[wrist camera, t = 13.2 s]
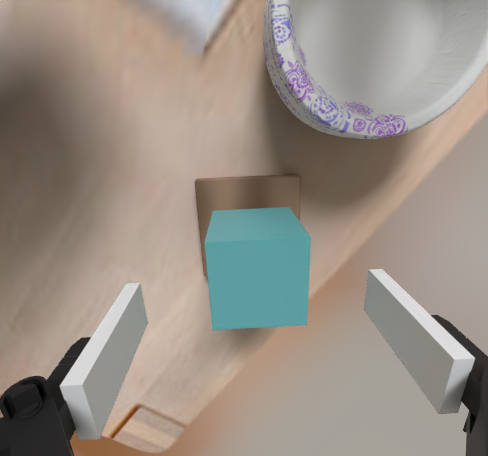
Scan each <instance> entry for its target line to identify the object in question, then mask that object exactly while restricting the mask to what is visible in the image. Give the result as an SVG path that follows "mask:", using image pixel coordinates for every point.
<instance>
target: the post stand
mask: <svg viewBox="0 0 488 456" xmlns="http://www.w3.org/2000/svg"><path fill="white" fill-rule="evenodd" d="M300 183H301V177H300V176H299V175H298V174H292V175H270V176H248V177H226V178H204V179H196V180H195V189H196V200H197V210H198V220H199V230H200V240H201V250H202V261H203V271H204V276H208V274H207V263H206V252H205V239H206V235H207V231H208V228H209V224H210V220H211V216H212V212H213V211H217V210H238V209H258V208H279V207H290V209H291V210H292V212H293V213H294V214H295V216H296V217H297V219H298V220H300Z"/></svg>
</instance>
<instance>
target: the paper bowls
mask: <svg viewBox="0 0 488 456" xmlns="http://www.w3.org/2000/svg"><path fill="white" fill-rule="evenodd" d="M263 46H264V54H265V60H266V65H267V68H268V72H269V75H270V77H271V80H272V83H273V85H274V87H275V89H276V91H277V93H278V94H279V96H280V98H281V99H282V100H283V102H284V103H285V105H286V106H287V107H288V109H289V110H290V111H291V112H292V113H293V114H294V115H295V116H296V117H297V118H298V119H300V120H301V121H302V122H303V123H305V124H307V125H309V126H310V127H312V128H314V129H316V130H318V131H321V132H323V133H327V134H330V135H334V136H339V137H346V138H356V139H380V138H387V137H394V136H399V135H403V134H406V133H408V132H411V131H414V130H416V129H418V128H421V127H423V126H425V125H427V124H428V123H430V122H431V121H433V120H435V119H436V118H438V117H439V116H440V115H442V114H443V113H444V112H446V111H447V110H448V109H449V108H451V107H452V106H453V105H454V104H455V103H456V102H457V101H458V100H459V99H460V98H461V97H462V96H463V95H464V94H465V93H466V92H467V91H468V90H469V88H470V87H471V86H472V85H473V83H474V82H475V81H476V79H477V78H478V77H479V76H480V74H481V73H482V71H483V69H484V68H485V66H486V65H487V63H488V0H267V1H266V7H265V13H264V23H263Z"/></svg>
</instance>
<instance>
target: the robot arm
mask: <svg viewBox="0 0 488 456" xmlns="http://www.w3.org/2000/svg"><path fill="white" fill-rule="evenodd" d="M364 311H365V312H366V313H367V315H368V316H369V318H370V319H371V320H372V322H373V323H374V325H375V326H376V327H377V329H378V330H379V332H380V333H381V334H382V336H383V337H384V338H385V340H386V341H387V343H388V344H389V345H390V347H391V348H392V350H393V351H394V352H395V354H396V355H397V357H398V358H399V359H400V361H401V362H402V364H403V365H404V366H405V368H406V369H407V370H408V372H409V373H410V375H411V376H412V377H413V379H414V380H415V382H416V383H417V384H418V386H419V387H420V389H421V390H422V391H423V393H424V394H425V395H426V397H427V398H428V400H429V401H430V402H431V404H432V405H433V407H434V408H435V409H436V411H437V412H438V414H447V413H458V411H459V408H460V405H461V402H463V403H464V405H465V406H466V407H467V408H468V409H469V413H468V417H467V419H466V422H465V425H464V428H463V431H464V432H467V439H466V440H467V441H466V456H488V356H487V355H485V354H484V353H483V352H482V351H481V350H480V349H479V348H478V347H476V346H475V345H474V344H473V343H472V342H471V341H470V340H469V339H468V338H466V337H465V336H464V335H463V334H462V333H461V332H459V331H458V329H456V327H454V326H453V325H452V324H451V323H450V322H449V321H447V320H445V319H443V318H442V317H440V316H438V315H429V314H428V313H427V312H426V311H425V310H424V309H423V308H422V307H421V306H420V305H419V304H418V303H417V302H416V301H414V299H413V298H412V297H411V296H410V295H409V294H408V293H406V292H405V291H404V290H403V289H402V288H401V287H400V286H399V285H398V284H397V283H396V282H395V281H394V280H393V279H392V278H391V277H390V276H389V275H388V274H386V273H385V272H384V271H383V270H382V269H373V270H369V272H368V280H367V289H366V297H365V303H364ZM147 324H148V321H147V316H146V311H145V305H144V300H143V295H142V290H141V285H140V283H129V284H126V285H125V287H124V288H123V290H122V291H121V293H120V294H119V296H118V297H117V299H116V301H115V302H114V304H113V305H112V307H111V308H110V310H109V311H108V313H107V314H106V316H105V317H104V319H103V320H102V322H101V323H100V325H99V327H98V328H97V330H96V331H95V333H94V334H93V336H92V337H87V338H81V339H80V340H78V341H77V342H76V343H75V344H73V345H72V346H71V347H70V349H69V350H68V351H67V353H66V354H65V356H64V358H62V360H61V361H60V363H59V365H58V366H57V367H56V368H55V370H54V371H53V372H52V374H51V375H50V376H49V378H48V379H47V381H46V379H45V378H44V377H41V376H32V377H28V378H26V379H23V380H21V381H19V382H17V383H16V384H14V385H12V386H11V387H10V388H9V389H8V390H6V391H5V392H4V394H3V395H2V396H1V398H0V410H1V412H2V414H3V416H4V417H3V418H0V456H74V454H73V450H72V447H71V444H70V442H69V441H70V439H71V437H72V435H73V433H74V431H75V430H76V433H77V436H78V439H79V440H90V439H99V438H100V436H101V434H102V432H103V429H104V427H105V425H106V422H107V420H108V417H109V415H110V413H111V410H112V408H113V405H114V403H115V401H116V398H117V396H118V393H119V391H120V389H121V386H122V384H123V381H124V379H125V377H126V374H127V372H128V369H129V367H130V365H131V362H132V360H133V357H134V355H135V353H136V350H137V348H138V345H139V343H140V341H141V338H142V336H143V333H144V331H145V329H146V326H147Z"/></svg>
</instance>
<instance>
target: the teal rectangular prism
mask: <svg viewBox="0 0 488 456" xmlns="http://www.w3.org/2000/svg"><path fill="white" fill-rule="evenodd" d="M310 240H311V237H310V236H309V234H308V233H307V231H306V230H305V229H304V227H303V226H302V224H301V223H300V222H299V220H298V219H297V217H296V216H295V214H294V213H293V212H292V210H291V209H290V207H279V208H258V209H238V210H217V211H213V212H212V216H211V220H210V224H209V228H208V231H207V235H206V239H205V252H206V263H207V274H208V284H209V295H210V306H211V316H212V327H213V330H224V329H242V328H260V327H278V326H295V325H307V312H308V288H309V264H310Z"/></svg>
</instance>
